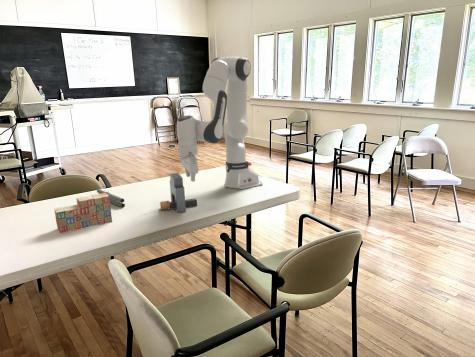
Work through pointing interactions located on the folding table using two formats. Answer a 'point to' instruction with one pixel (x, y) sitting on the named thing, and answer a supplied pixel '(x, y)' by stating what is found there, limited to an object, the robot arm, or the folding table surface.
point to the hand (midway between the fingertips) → (190, 178)
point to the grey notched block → (177, 192)
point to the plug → (171, 205)
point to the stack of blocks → (84, 213)
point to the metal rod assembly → (113, 198)
